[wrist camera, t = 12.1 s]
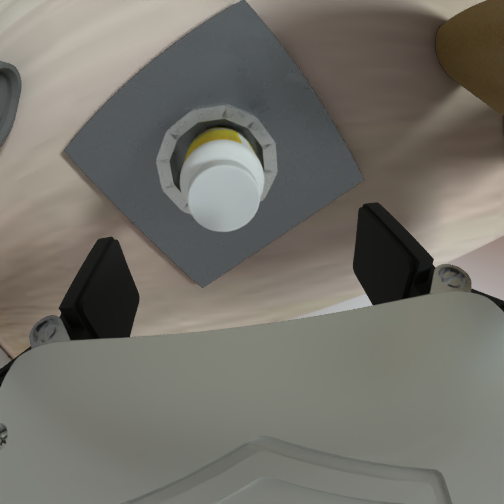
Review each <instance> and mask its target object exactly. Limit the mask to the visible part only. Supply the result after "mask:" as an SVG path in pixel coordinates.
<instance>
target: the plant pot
mask: <svg viewBox="0 0 504 504" xmlns="http://www.w3.org/2000/svg"><path fill="white" fill-rule="evenodd" d="M435 45H436V52H437V56H438V59H439V61H440V64H441V66H442V67H443V69H444V71H445V72H446V73H447V74H448V76H450V77H451V78H452V79H453V80H455V81H456V82H457V83H459V84H460V85H461V86H463V87H464V88H465V89H467V90H468V91H469V92H471V93H472V94H474V95H475V96H476V97H478V98H479V99H480V100H482V101H483V102H485V103H486V104H487V105H489V106H490V107H492V108H493V109H494V110H496V111H497V112H499V113H500V114H502V115H503V116H504V0H486V1H484V2H481V3H479V4H476V5H474V6H472V7H470V8H468V9H466V10H464V11H462V12H460V13H459V14H457V15H455V16H454V17H452V18H451V19H449V20H448V21H447V22H445V23H444V24H443V25H441V26H440V28H439V29H438V31H437V34H436V41H435Z"/></svg>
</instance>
